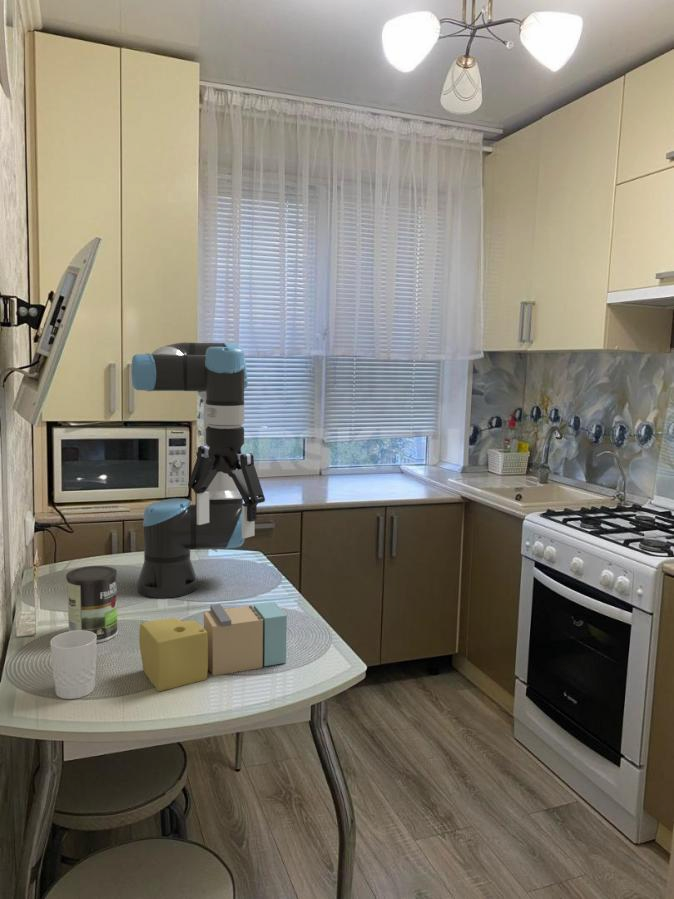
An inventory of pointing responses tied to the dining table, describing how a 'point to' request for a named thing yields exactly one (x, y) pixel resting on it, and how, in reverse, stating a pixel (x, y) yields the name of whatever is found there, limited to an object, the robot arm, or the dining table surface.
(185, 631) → the cheese
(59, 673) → the white cup
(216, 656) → the slotted tan box
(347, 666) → the dining table surface
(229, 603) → the dining table surface
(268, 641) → the light blue box
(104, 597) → the coffee can
